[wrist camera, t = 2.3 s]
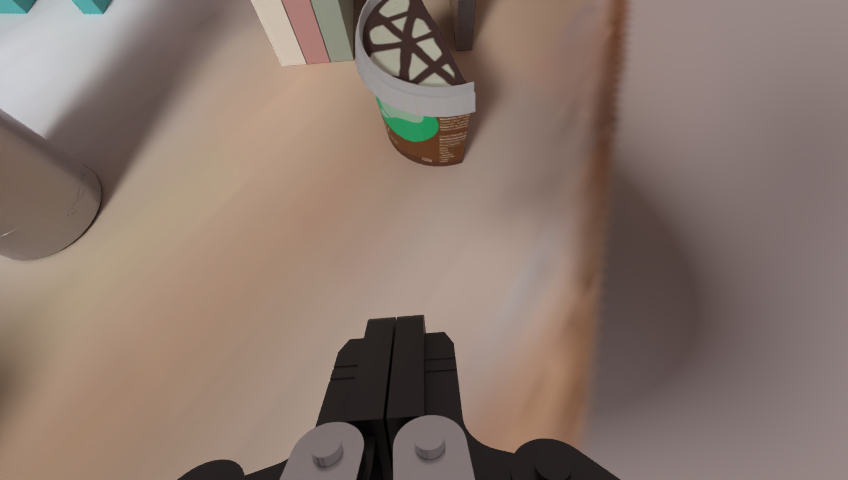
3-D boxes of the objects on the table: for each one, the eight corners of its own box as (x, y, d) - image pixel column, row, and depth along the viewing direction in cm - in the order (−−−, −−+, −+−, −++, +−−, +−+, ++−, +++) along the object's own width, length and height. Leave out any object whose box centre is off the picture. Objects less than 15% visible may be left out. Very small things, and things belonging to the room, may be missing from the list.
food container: (356, 91, 38) (328, -12, 28) (418, 72, 38) (410, -35, 29) (399, 200, 33) (381, 120, 24) (468, 176, 34) (477, 88, 24)
